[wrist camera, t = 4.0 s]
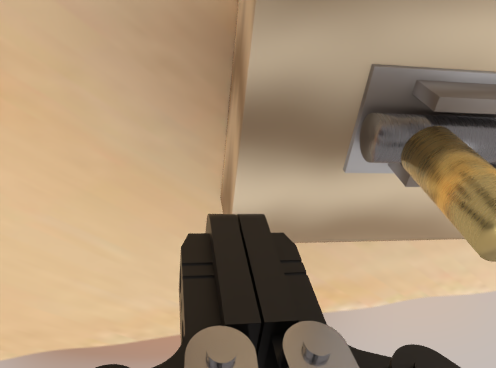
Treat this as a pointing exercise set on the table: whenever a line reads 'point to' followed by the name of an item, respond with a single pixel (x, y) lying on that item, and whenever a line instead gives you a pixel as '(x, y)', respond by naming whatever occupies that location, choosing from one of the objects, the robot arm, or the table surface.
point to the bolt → (443, 166)
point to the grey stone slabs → (347, 109)
